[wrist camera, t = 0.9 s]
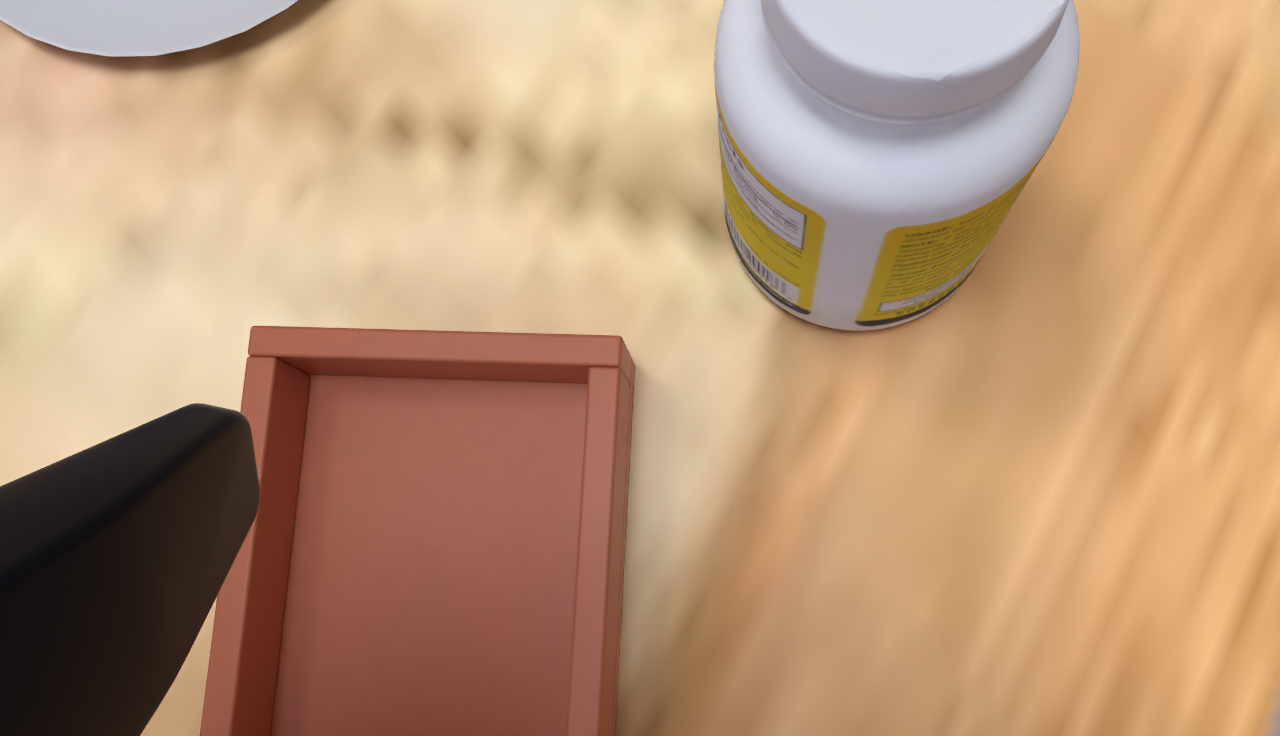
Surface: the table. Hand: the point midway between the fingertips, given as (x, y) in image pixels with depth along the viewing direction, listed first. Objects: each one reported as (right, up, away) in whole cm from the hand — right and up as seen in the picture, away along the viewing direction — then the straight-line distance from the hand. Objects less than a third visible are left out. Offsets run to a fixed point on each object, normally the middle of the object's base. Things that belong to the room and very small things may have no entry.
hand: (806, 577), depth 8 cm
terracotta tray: (-5, -3, +14) cm, 15 cm away
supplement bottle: (+3, +5, +15) cm, 16 cm away
